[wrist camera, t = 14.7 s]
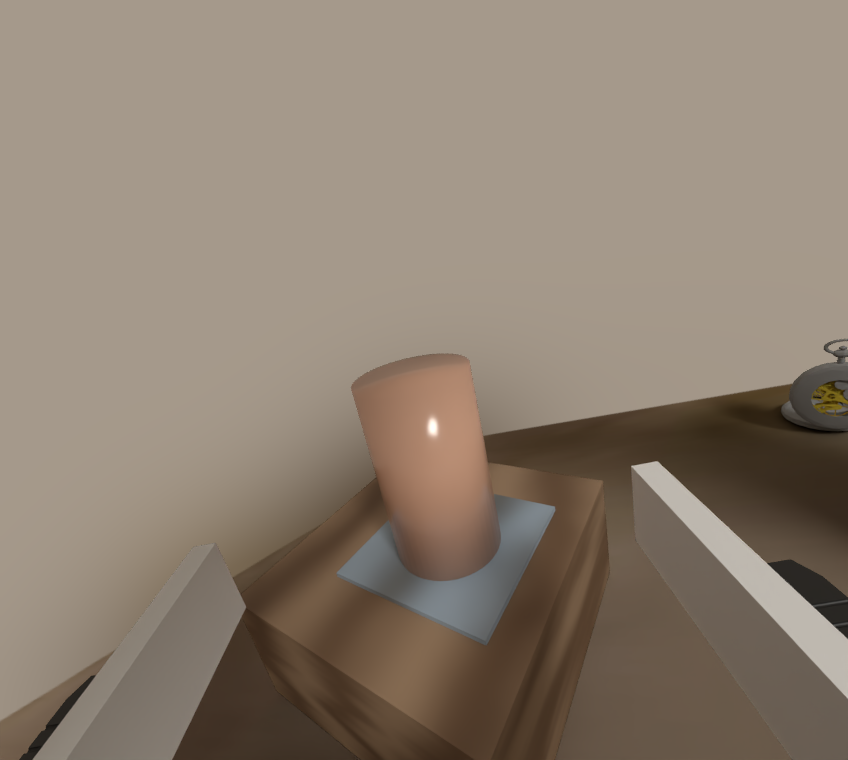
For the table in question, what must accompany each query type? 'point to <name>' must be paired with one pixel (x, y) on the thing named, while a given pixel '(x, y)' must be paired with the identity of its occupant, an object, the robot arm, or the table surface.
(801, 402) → the pocket watch
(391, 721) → the walnut box
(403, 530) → the terracotta cylinder
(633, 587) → the table surface
